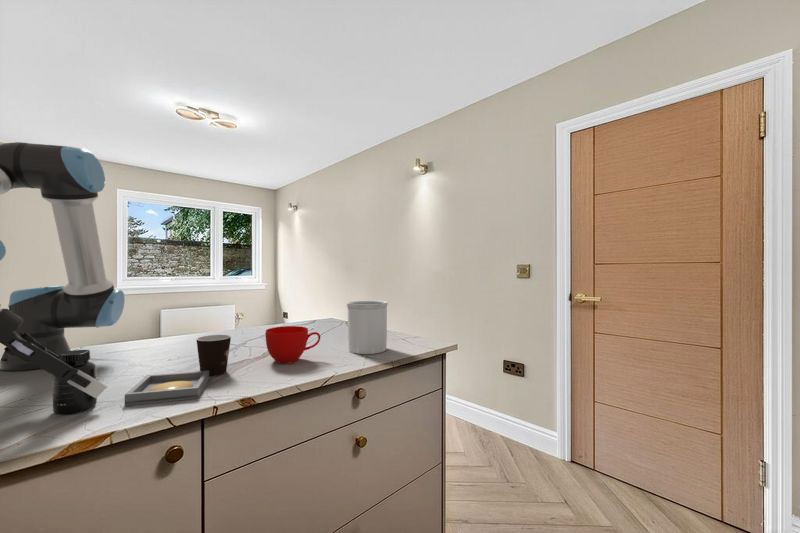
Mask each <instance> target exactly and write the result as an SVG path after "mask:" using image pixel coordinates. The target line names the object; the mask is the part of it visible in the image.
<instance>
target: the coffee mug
mask: <svg viewBox="0 0 800 533" xmlns="http://www.w3.org/2000/svg"><path fill="white" fill-rule="evenodd" d="M231 338H232V336H231V335H230V334H229V335H228V334H212V335H211V334H209V335H203V336H199V337H197V338H196V346H197V354H198V364H199V371H209V378H210V377H211V378H212V377H218V376H221V375H224V374H226V373H227V370H228V369H227V368H228V362H229V361H228V360H229V354H230V346H231Z"/></svg>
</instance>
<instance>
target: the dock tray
mask: <svg viewBox="0 0 800 533" xmlns="http://www.w3.org/2000/svg"><path fill="white" fill-rule="evenodd" d="M209 381H210V377H209V371H200V370H199V371H198V370H197V371H186V372H185V371H183V372H173V373H161V374H158V373H157V374H147V375H146V376H144V377H143V378H142V379H141V380H140V381H139V382H138V383H137V384H135V385H134V386H132V388H131V389H130V390H128V391H127V392H126V393H125V394H124V406H125V407H126V406H135V405H144V404H146V405H147V404H156V403H165V402H167V403H168V402H175V401H185V400H194V399H195V400H197V399H199V398H200V396H201V395H202V392H203V390H204V389H205V387H206V385H207V384H208V382H209Z"/></svg>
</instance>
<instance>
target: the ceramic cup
mask: <svg viewBox="0 0 800 533" xmlns="http://www.w3.org/2000/svg"><path fill="white" fill-rule="evenodd" d="M313 335H317V338H318V339H317V340H316V341H315V343H313V344H311V345H310V346H307V343H308V340H309V338H310V337H311V336H313ZM320 341H321V335H320V333H319V332H317V331H313V332H309V329H308V327H305V326H300V325H299V326H296V325H290V326H289V325H287V326H286V325H285V326H284V325H283V326H277V327H270V328H268V329H266V330H265V345H266V349H267V351H268V353H269V355H270V357H271V358H272V359H273V360H274V361H275V362H276V363H277V364H291V363H296V362H298V360H299V359H300V357H301V356H302V355H303V353H304V352H305V351H309V350H310V349H313V348H315V347H316V346H317V345H318V344H319V343H320Z"/></svg>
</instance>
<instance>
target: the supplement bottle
mask: <svg viewBox="0 0 800 533" xmlns="http://www.w3.org/2000/svg"><path fill="white" fill-rule="evenodd" d="M59 359H60V360H61V361H63V362H65V363H66V364H68V365H70V366H71V367H73V368H76V369H78V370H80V371H82V372H84V373H85V374H87V375H89V376H90V377H92V378H94V379H96V378H97V366H96V364H95V363H94V362H92V361H90V360H91V350H89V349H75V350H71V351H68V352H64V353H61V354H59ZM51 375H52V374H51ZM63 375H64V374H63ZM51 377H52V378H51V379H52V381H51V382H52V384H51V385H52V412H53V414H54V415H57V416H66V415H67V416H68V415H74V414H75V415H76V414H78V413H83V412H85V411H88V410H90V409H92V408H94V407H95V406H96V404H97V403H98V402H97V400H98V399H97V398H98V397H97V398H94V397H93V396H91V395H89V394H87V393H85V392H83V391H82V390H80V389H78V388H76V387H74V386H73V385H71V384H69V383H67V382H66V383H65V384H64V385H62V384H60V383H61V382H62V381H61V379H59V378H57V377H56V376H54V375H52V376H51Z"/></svg>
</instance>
